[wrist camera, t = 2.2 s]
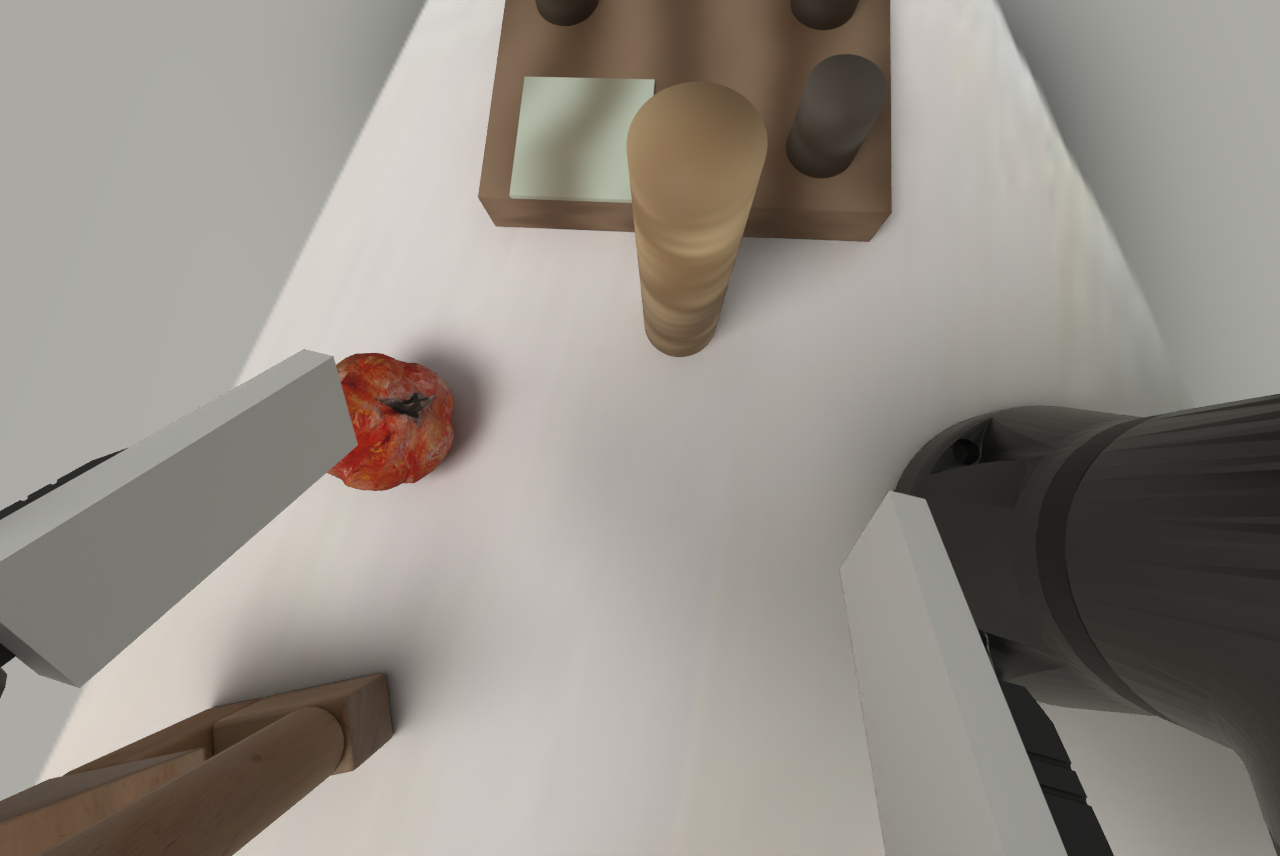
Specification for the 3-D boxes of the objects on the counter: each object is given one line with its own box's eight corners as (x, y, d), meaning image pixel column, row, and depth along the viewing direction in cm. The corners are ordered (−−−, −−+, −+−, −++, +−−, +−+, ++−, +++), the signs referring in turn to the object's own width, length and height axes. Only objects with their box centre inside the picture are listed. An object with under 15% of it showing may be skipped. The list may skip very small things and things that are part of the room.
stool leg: (717, 291, 30) (770, 83, 15) (713, 358, 29) (765, 209, 14) (647, 287, 30) (631, 79, 15) (642, 354, 29) (620, 204, 15)
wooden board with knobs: (869, -1, 33) (924, -137, 26) (869, 241, 30) (930, 162, 23) (526, -5, 34) (491, -134, 27) (495, 226, 31) (448, 147, 24)
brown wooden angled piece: (208, 707, 27) (-627, 1079, 10) (388, 669, 27) (-122, 976, 10) (211, 776, 27) (-671, 1308, 9) (396, 738, 27) (-133, 1203, 9)
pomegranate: (392, 499, 31) (474, 504, 25) (256, 476, 26) (316, 475, 19) (420, 393, 33) (503, 372, 27) (299, 351, 28) (366, 312, 21)
